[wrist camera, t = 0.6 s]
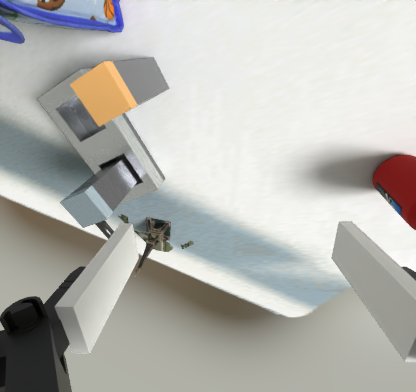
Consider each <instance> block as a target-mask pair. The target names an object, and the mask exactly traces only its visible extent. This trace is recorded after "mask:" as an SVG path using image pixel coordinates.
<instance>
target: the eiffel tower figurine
mask: <svg viewBox="0 0 416 392" xmlns="http://www.w3.org/2000/svg"><path fill="white" fill-rule="evenodd" d="M118 217H119V218H121V219H122V220H123V221H124V222H125V223H128V217H127V216H124V215H122V214H120V215H118ZM146 222H147V234H146V233H141V232H137V231H135V230H134V231H135V232H136V233H137V234H138V235H139V236H140V237H141V238H142V239H143V240H144V241H145V242H146V248H145V251H144V254H143V256H142V259H141V261H140V264H139V266H138V268H137V269H136V274H137V273H139V272H140V269H141V267H142V265H143V263H144V262H145V260H146V258H147V257H148V255H149V253H150V252H151V251H152V249H155V250H159V251H164V252H169V251H170V250H172V249H173V247H172V246H171V245H170V244H169V243H168V242H166V241H167V240H170V229H171V222H169V221H163V220H158V219H153V218H147V217H146ZM192 244H194V243H193V242H192V241H190V242H188V243H187V244H184V245H181V247H182V249H184V248H186V247H188V246H190V245H192Z"/></svg>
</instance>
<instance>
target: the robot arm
mask: <svg viewBox="0 0 416 392" xmlns="http://www.w3.org/2000/svg"><path fill="white" fill-rule="evenodd" d="M138 258H139V256H138V250H137V245H136V239H135V234H134V228H133V223H121V224H120V225H119V227H118V228H117V229H116V230H115V232H114V233H113V234H112V235H111V237H110V238H109V239H108V240H107V242H106V243H105V244H104V246H103V247H102V248H101V249H100V250H99V252H98V253H97V255H95V257H94V258H93V259H92V260H91V262H90V263H89V264H88V266H87V267H79V268H77V269H76V270H75V271H73V272H72V273H70V275H69V276H68V277H67V278H66V279H65V280H64V282H63V283H62V284H61V285H60V286H59V288H58V289H57V290H56V291H55V292H54V293H53V294H52V296H51V297H50V298H49V299H48V300H47V301H46V302H45V304H44V305H43V303H42V300H41V299H40V298H39V297H36V296H35V297H27V298H24V299H21V300H19V301H17V302H15V303H13V304H12V305H11V306H9V307H8V308H6V309H5V311H4V312H3V313H2V314H1V316H0V322H1V323H2V325H3V327H4V329H5V330H2V331H0V392H72V391H71V386H70V380H69V374H68V369H67V364H66V359H65V356H64V351H65V350H66V349H67V347H68V345H70V348H71V350H72V353H80V354H82V353H83V354H90V352H91V350H92V348H93V346H94V344H95V342H96V340H97V338H98V336H99V334H100V333H101V331H102V329H103V327H104V325H105V323H106V321H107V319H108V317H109V315H110V313H111V311H112V309H113V307H114V305H115V303H116V301H117V299H118V297H119V295H120V294H121V292H122V290H123V288H124V286H125V284H126V282H127V280H128V278H129V276H130V274H131V272H132V270H133V268H134V266H135V264H136V262H137V261H138ZM332 259H333V261H334V262H335V264H336V265H337V266H338V268H339V269H340V271H341V272H342V274H343V275H344V276H345V278H346V279H347V281H348V282H349V283H350V285H351V286H352V288H353V289H354V291H355V292H356V293H357V295H358V296H359V298H360V299H361V300H362V302H363V303H364V305H365V306H366V308H367V309H368V310H369V312H370V313H371V315H372V316H373V317H374V319H375V320H376V321H377V323H378V325H379V326H380V327H381V329H382V330H383V332H384V333H385V334H386V336H387V337H388V339H389V340H390V342H391V343H392V344H393V346H394V347H395V348H396V350H397V351H398V353H399V354H400V356H401V357H402V359H403V360H404V361H405V362H416V272H414V271H413V270H411V269H409V268H407V267H400V266H399V265H398V264H397V263H396V262H395V261H394V260H393V259H392V258H391V257H390V256H388V255H387V254H386V253H385V252H384V251H383V250H382V249H381V248H380V247H379V246H378V245H377V244H375V243H374V242H373V241H372V240H371V239H370V238H369V237H368V236H367V235H366V234H365V233H364V232H362V231H361V230H360V229H359V228H358V227H357V226H356V225H355V224H354V223H353V222H339V224H338V229H337V234H336V239H335V244H334V248H333V253H332Z"/></svg>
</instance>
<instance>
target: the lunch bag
mask: <svg viewBox="0 0 416 392" xmlns="http://www.w3.org/2000/svg"><path fill="white" fill-rule="evenodd" d="M119 1H120V0H0V39H1V40H5V41H10V42H14V43H20V44H21V43H24V41H25V39H24V36H23V35H22V33H21V32H20V31H19V30H18V29H17V28H16V27H15V26H14V25H12V24H11V23H10V22H8V21H7V20H6V19H8V20H13V21H19V22H25V23H30V24H36V25H42V26H48V27H57V28H66V29H78V30H100V31H105V30H106V31H109V32H122V29H123V27H124V24H123V18H122V13H121V9H120V5H119Z"/></svg>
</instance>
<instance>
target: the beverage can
mask: <svg viewBox="0 0 416 392" xmlns="http://www.w3.org/2000/svg"><path fill="white" fill-rule="evenodd" d="M373 184H374V186H375V188H376V189H377V190H378V191H379V192H380V194H381V195H382V196H383V197H384V198H385V199H386V200H387V202H388V203H389V204H390V205H391V206H392V207H393V208H394V209H395V210H396V211H397V213H398V214H399V215H400V216H401V217H402V218H403V219H404V220H405V221H406V222H407V223H408V224H409V225H410V226H411V227H412V228H413V229H415V230H416V157H415V156H411V155H400V156H396V157H393V158H391V159H389V160H387V161H385V162H384V163H382V164H381V165H380V166H379V167H378V168H377V170H376V171H375V173H374V176H373Z"/></svg>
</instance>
